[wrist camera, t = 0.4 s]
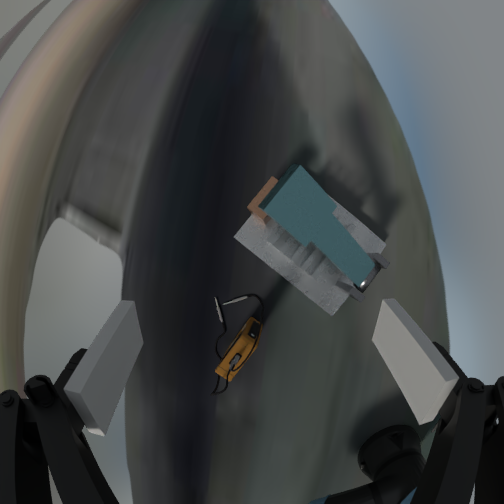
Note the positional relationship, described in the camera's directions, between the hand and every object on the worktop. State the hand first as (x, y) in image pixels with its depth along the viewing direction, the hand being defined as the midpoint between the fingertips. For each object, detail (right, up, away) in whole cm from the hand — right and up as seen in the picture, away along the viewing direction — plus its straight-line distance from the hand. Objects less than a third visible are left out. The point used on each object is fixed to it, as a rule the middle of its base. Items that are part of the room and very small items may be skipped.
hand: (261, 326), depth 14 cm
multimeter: (-5, -10, +37) cm, 39 cm away
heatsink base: (+10, +6, +36) cm, 38 cm away
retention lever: (+9, +5, +21) cm, 23 cm away
